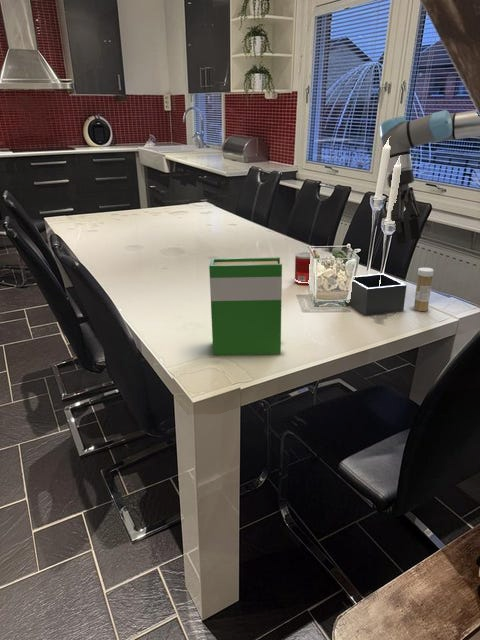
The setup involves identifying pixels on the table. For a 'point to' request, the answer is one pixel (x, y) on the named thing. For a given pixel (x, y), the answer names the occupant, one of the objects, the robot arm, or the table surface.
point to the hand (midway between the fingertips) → (409, 241)
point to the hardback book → (246, 305)
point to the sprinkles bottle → (423, 289)
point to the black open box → (377, 294)
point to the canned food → (302, 267)
